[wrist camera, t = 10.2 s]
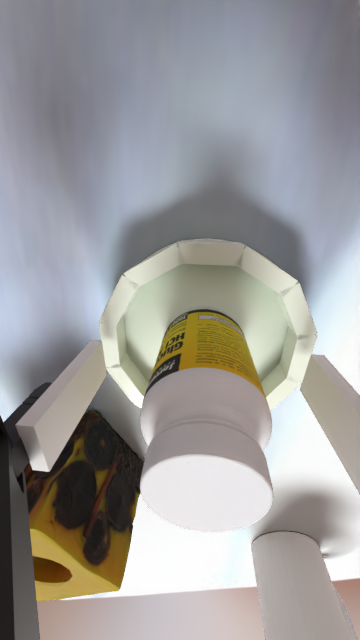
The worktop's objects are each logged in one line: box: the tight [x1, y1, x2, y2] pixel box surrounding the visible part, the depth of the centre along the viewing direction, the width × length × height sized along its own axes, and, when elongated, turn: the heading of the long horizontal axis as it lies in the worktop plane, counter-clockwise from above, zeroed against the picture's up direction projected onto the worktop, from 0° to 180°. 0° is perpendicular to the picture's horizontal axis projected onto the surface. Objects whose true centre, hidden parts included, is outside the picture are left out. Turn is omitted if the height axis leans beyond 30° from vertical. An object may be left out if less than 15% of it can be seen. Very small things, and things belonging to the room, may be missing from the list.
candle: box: [23, 410, 144, 601], centre depth 22 cm, size 10×10×10 cm
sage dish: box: [99, 238, 317, 411], centre depth 18 cm, size 15×15×3 cm
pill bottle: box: [140, 307, 273, 532], centre depth 13 cm, size 6×6×11 cm
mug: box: [251, 531, 358, 640], centre depth 27 cm, size 11×10×10 cm
